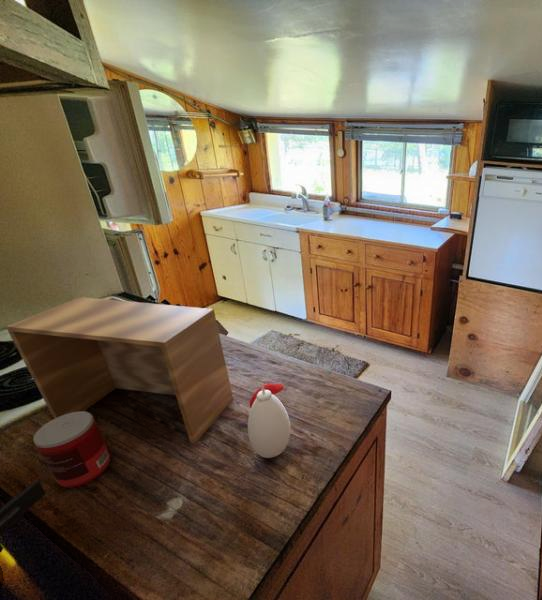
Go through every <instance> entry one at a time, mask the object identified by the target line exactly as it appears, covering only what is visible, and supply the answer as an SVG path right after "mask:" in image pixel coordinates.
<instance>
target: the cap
mask: <svg viewBox="0 0 542 600" xmlns="http://www.w3.org/2000/svg"><path fill="white" fill-rule="evenodd" d="M263 385H264V390H269V391H271V394H273V395H274V396H275V395H276V394H279V393H280V392H282V391H283V390H284V389H285V386H284V385H283V384H281V383H271V382H269V383H266V384H263ZM260 391H262V386H260V387H258V388H257V389H256V390H255V391H254V393H253V394H252V395H251V398H250V400H249V408H250V409H251V407H252V405H253V403H254V401H255V399H256V398H257V394H258V393H259V392H260Z"/></svg>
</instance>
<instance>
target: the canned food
mask: <svg viewBox="0 0 542 600" xmlns="http://www.w3.org/2000/svg"><path fill="white" fill-rule="evenodd" d="M32 440H33V443H34V445H35V447H36V449H37V451H38V453H39V455H40V456H41V458H42V459H43V461H44V463H45V464H46V466H47V468H48V470H49V471H50V473H51V474H52V477H53V478H54V480H55V482H56V483H57V484H58V485H59V486H61V487H64V488H67V489H69V488H70V489H71V488H77V487H80V486H84V485H86V484H88V483H90V482H92V481H93V480H94V481H95V479H97V478H98V477H99V476H101V475H102V474H103V473H104V472H105V471H106V470H107V468H108V467H109V466H110V462H111V454H110V451H109V449H108V447H107V444H106V442H105V440H104V437H103V436H102V434H101V431H100V429H99V426H98V425H97V421H96V419H95V418H94V416H93V414H92V413H90V412H88V411H79V412H72V413H68V414H65V415H62V416H60V417H57V418H55V419H54V418H53V419H51V420H50V421H48V422H47V423H45V424H44V425H42V426H40V428H39V429H38V430H37V431H36V432H35V434H34V435H33V437H32Z"/></svg>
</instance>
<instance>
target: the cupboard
mask: <svg viewBox="0 0 542 600" xmlns="http://www.w3.org/2000/svg"><path fill="white" fill-rule="evenodd" d="M5 328H6V330H7V332H8V334H9V335H10V338H11V340H12V342H13V343H14V345H15V347H16V349H17V351H18V353H19V355H20V357H21V359H22V360H23V362H24V364H25V365H26V368H27V370H28V372H29V374H30V376H31V378H32V380H33V382H34V383H35V385H36V387H37V389H38V391H39V393H40V395H41V397H42V399H43V401H44V402H45V404H46V406H47V408H48V411H49V413H50V414H51V416H52V418H53V419H55V418H57V417H60V416H62V415H65V414H68V413H72V412H79V411H84V412H86V410H88V409H90V408H91V407H92V406H94V404H96V403H97V402H98V401H100V400H101V399H103V398H104V397H106V396H107V395H108V394H110V393H111V392H112V391H114V390H115V389H121V390H130V391H138V392H147V393H154V394H164V395H173V396H175V397H176V400H177V403H178V407H179V409H180V410H179V411H180V413H181V416H182V419H183V423H184V426H185V429H186V432H187V436H188V439H189V442H190V444H193V445H195V444H196V443H197V442H198V441H199V440H200V439H201V438H202V436H203V435H204V434H205V433H206V431H208V430H209V428H210V427H211V426H212V424H213V423H214V422H215V421H216V420H217V419H218V417H219V416H220V415H221V414H222V413H223V411H224V410H225V409H226V408H227V407H228V406H229V405H230V403H231V402H232V401H233V400H234V396H233V391H232V386H231V383H230V378H229V373H228V368H227V364H226V363H227V362H226V359H225V356H224V350H223V344H222V341H221V336H220V331H219V326H218V321H217V317H216V313H215V309H214V308H204V307H193V306H185V305H184V306H183V305H171V304H162V303H152V302H151V303H150V302H139V301H128V300H116V299H106V298H96V297H86V296H85V297H84V296H79V297H77V298H75V299H72V300H69V301H67V302H64V303H62V304H60V305H56V306H53V307H51V308H49V309H47V310H44V311H42V312H39V313H35V314H34V315H31V316H29V317H26V318H24V319H22V320H19V321H16V322H14V323H11V324H8V325H6V326H5Z"/></svg>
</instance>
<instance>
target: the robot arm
mask: <svg viewBox="0 0 542 600" xmlns="http://www.w3.org/2000/svg"><path fill="white" fill-rule="evenodd" d="M45 495H47V492H46V491H45V489H44V488H43V486H42V484H41V483H40V481H37V480H34V481H33V482H31V483H30V484H29V485H28V486H27V487H25V488H24V489H23V490H21V491H20V492H19V493H18V494H17V495H15V496H14V497H13V498H11V499H10V500H9V501H8V502H7V503H5V504H4V505H3V506H2V507H1V508H0V537H1V536H2V535H4V534H5V533H6V532H7V531H8V530H9V529H11V528H12V527H13V526H14V525H15V524H16V523H17V522H18V521H20V520H21V519H22V518H23V517H24V515H25V513H26V512H27V511H28V510H29V509H30V508H32V507H33V506H34V505H35V504H36V503H37V502H39V501H40V500H41V499H42V498H43V497H45ZM3 550H4V547H3V546H2V544H0V553H1V552H2V551H3Z"/></svg>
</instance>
